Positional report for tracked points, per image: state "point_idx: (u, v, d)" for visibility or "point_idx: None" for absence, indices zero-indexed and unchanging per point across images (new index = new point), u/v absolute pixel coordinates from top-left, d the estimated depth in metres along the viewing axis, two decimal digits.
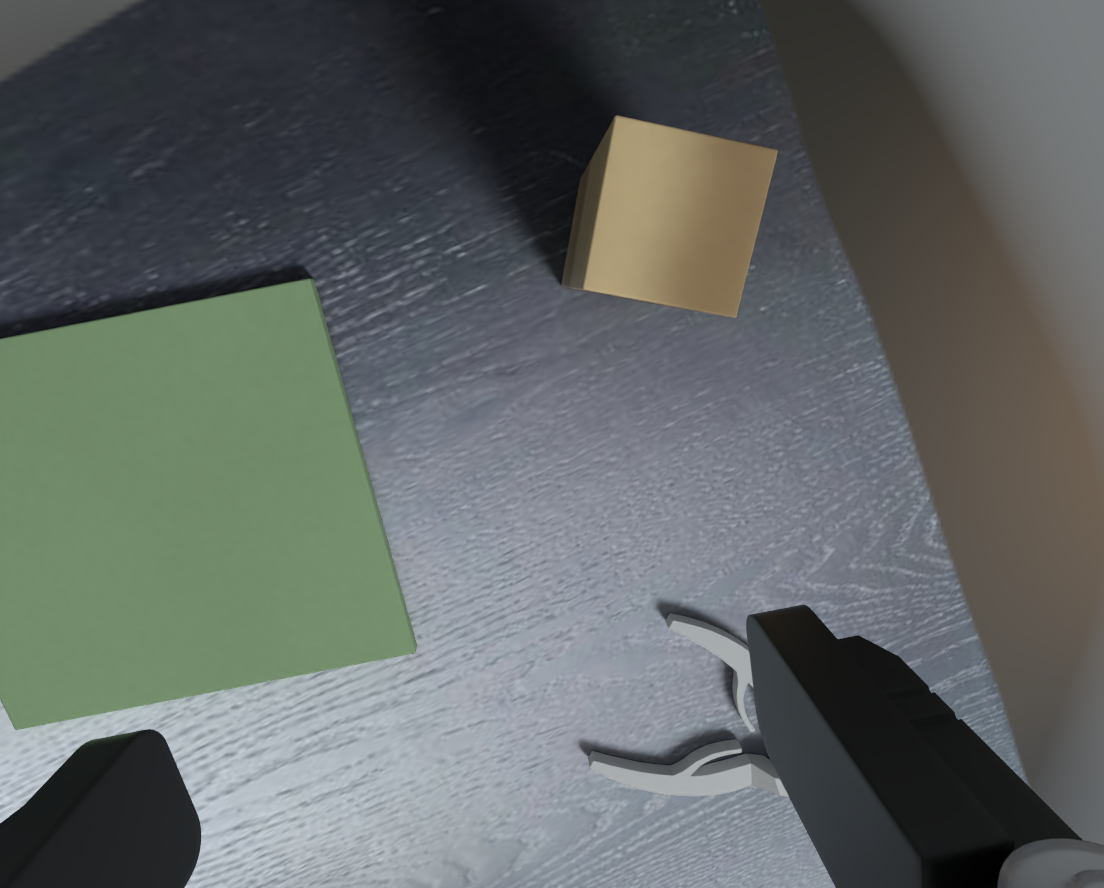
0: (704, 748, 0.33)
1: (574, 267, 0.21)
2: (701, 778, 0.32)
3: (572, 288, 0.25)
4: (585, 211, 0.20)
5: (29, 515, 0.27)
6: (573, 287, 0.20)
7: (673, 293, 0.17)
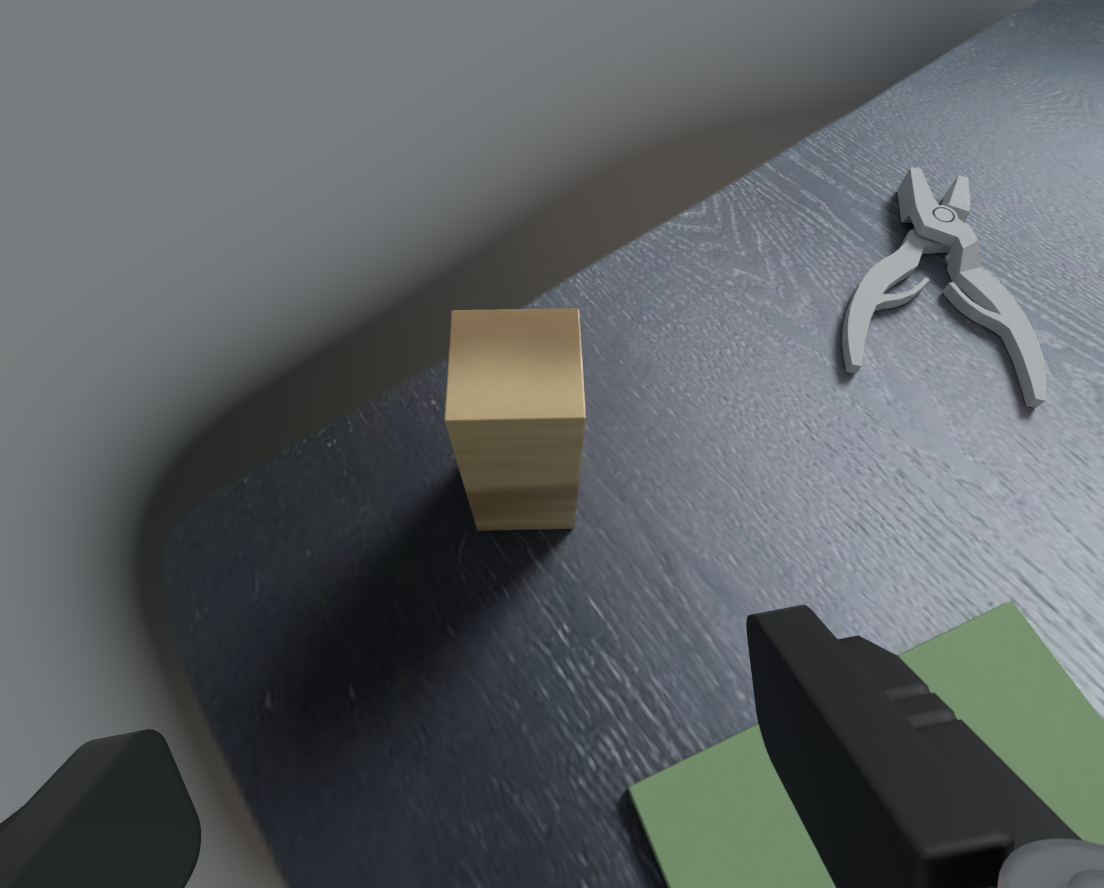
0: (966, 313, 0.34)
1: (561, 475, 0.23)
2: (998, 305, 0.33)
3: None
4: (513, 473, 0.22)
5: None
6: (580, 464, 0.22)
7: (571, 352, 0.20)
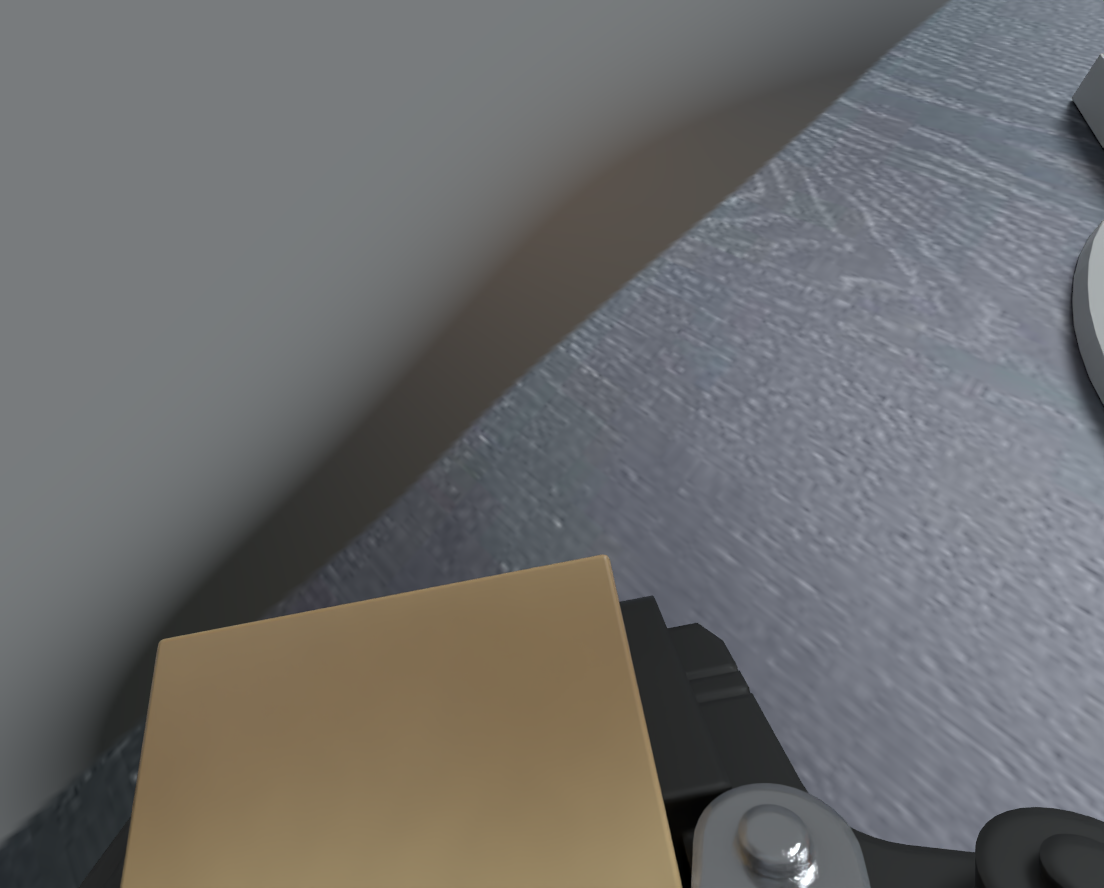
0: None
1: None
2: None
3: None
4: None
5: None
6: None
7: (617, 783, 0.05)
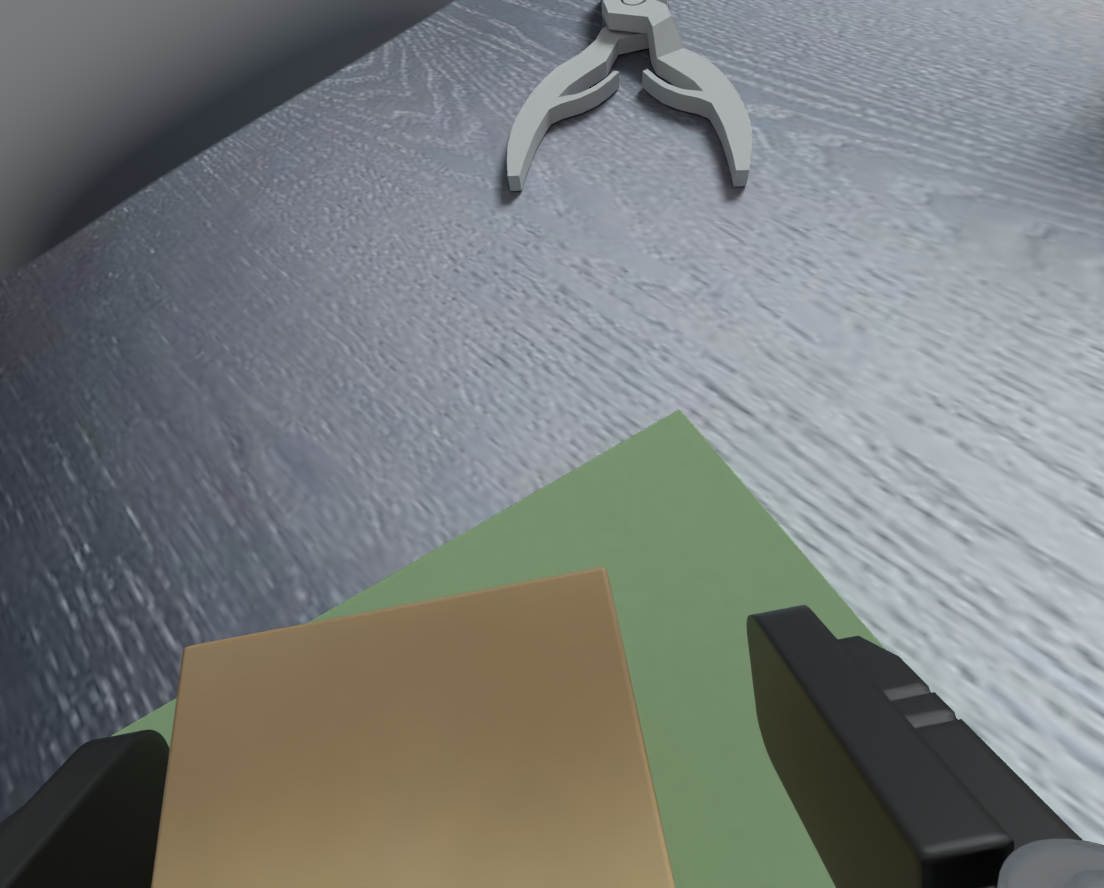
0: (667, 101, 0.27)
1: None
2: (700, 82, 0.26)
3: None
4: None
5: None
6: None
7: (613, 782, 0.05)
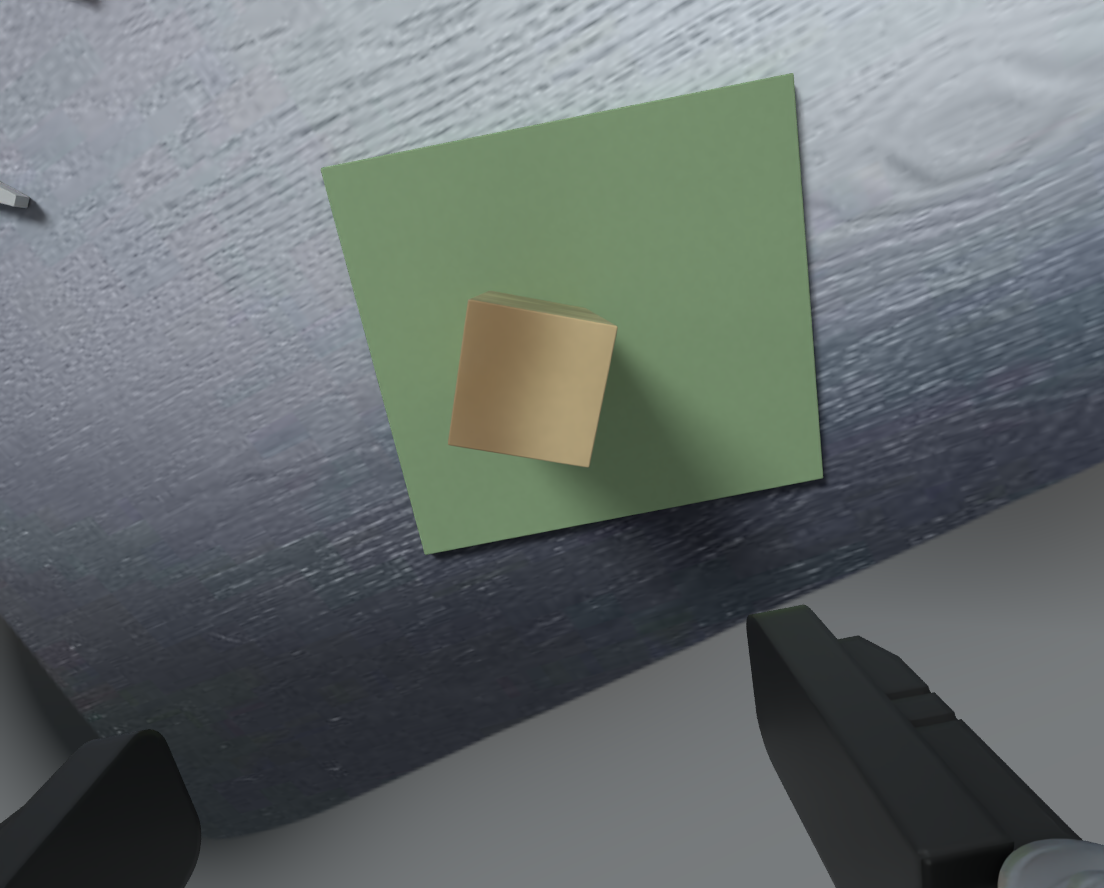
0: None
1: None
2: None
3: (578, 307, 0.26)
4: None
5: (703, 346, 0.28)
6: None
7: (531, 322, 0.18)
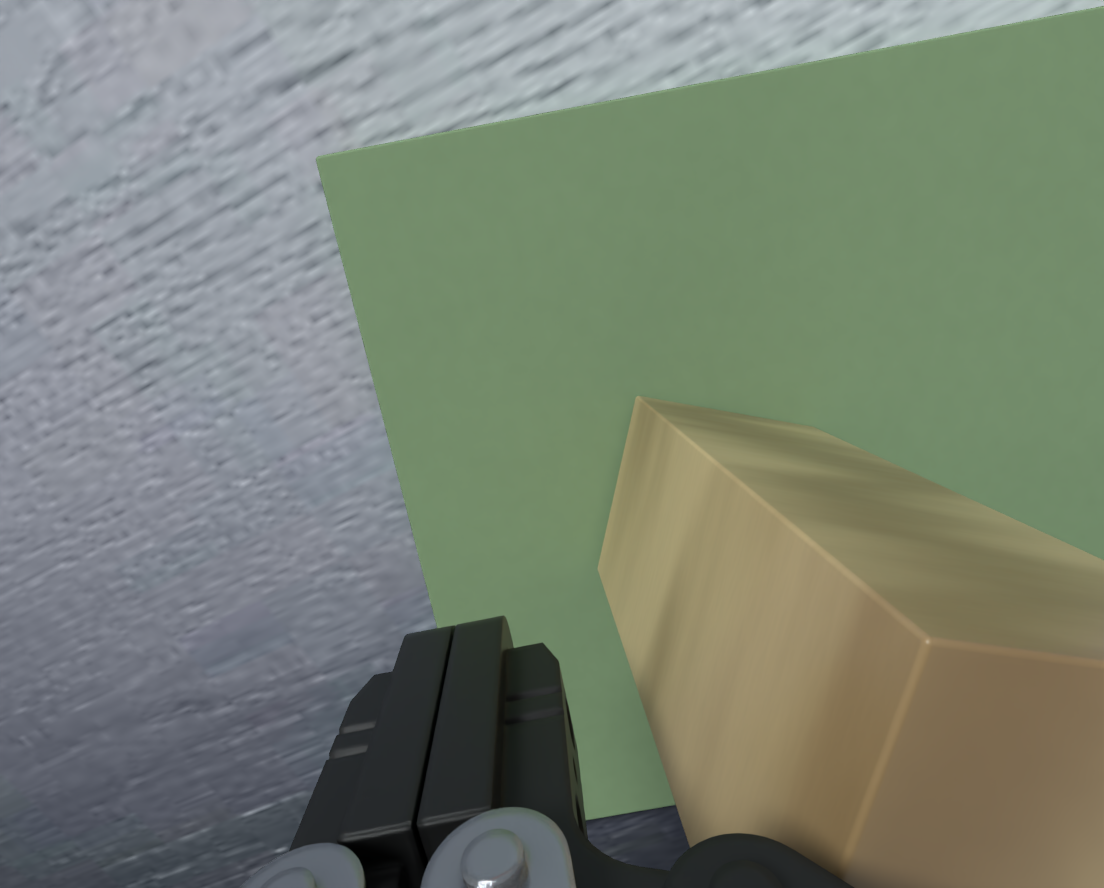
0: None
1: None
2: None
3: (819, 434, 0.13)
4: None
5: (1022, 495, 0.15)
6: (1062, 542, 0.08)
7: None
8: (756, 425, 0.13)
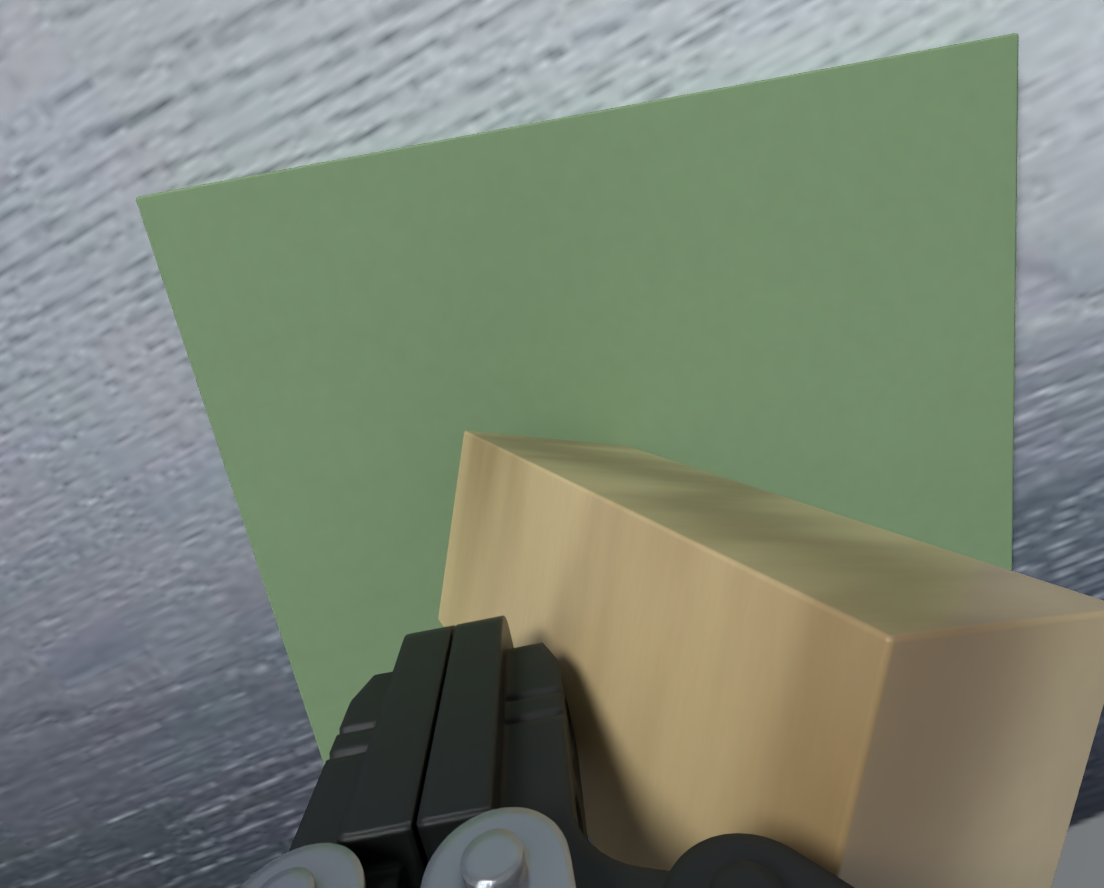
0: None
1: None
2: None
3: (637, 452, 0.14)
4: None
5: (827, 507, 0.16)
6: (865, 524, 0.10)
7: (1008, 656, 0.06)
8: (586, 449, 0.13)
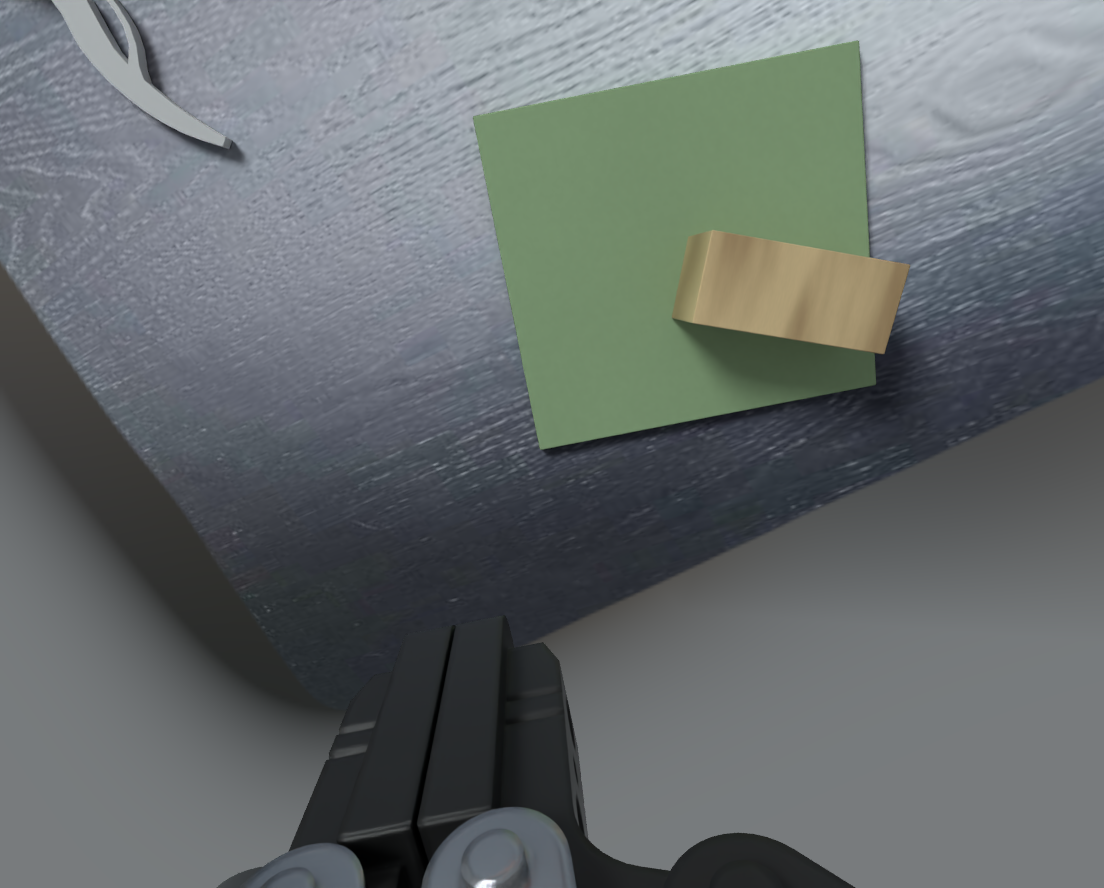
0: None
1: None
2: None
3: None
4: None
5: None
6: None
7: None
8: None
